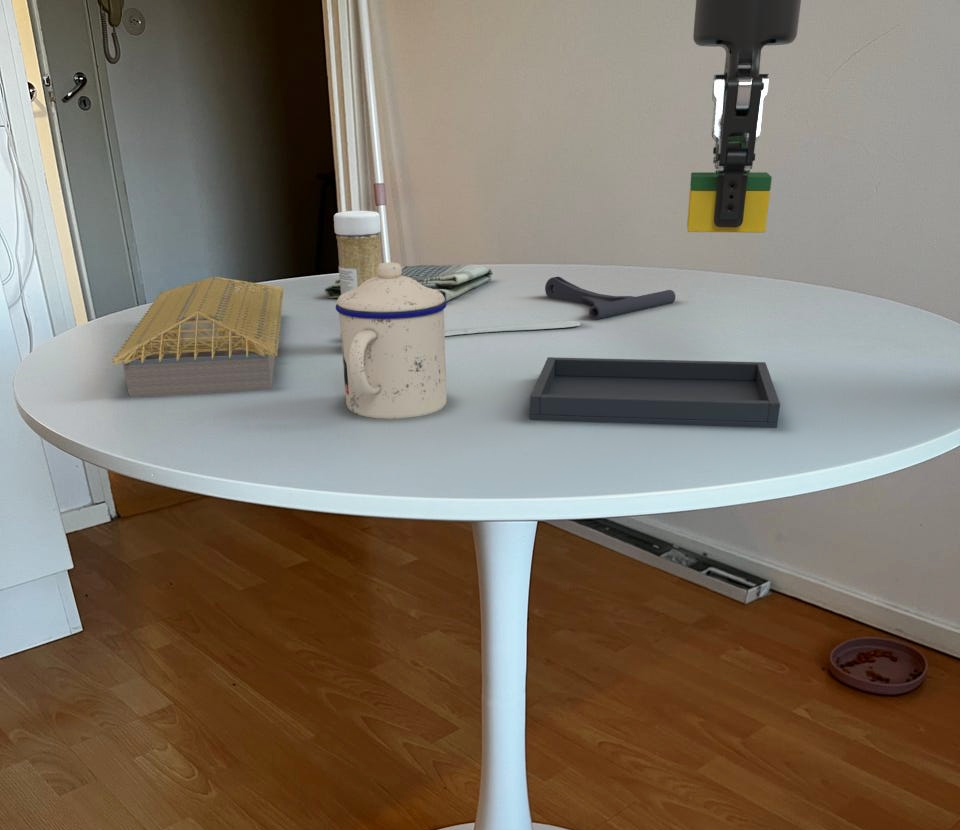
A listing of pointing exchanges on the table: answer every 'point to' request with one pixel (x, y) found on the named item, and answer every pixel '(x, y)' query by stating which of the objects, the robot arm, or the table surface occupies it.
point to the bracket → (605, 299)
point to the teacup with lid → (393, 346)
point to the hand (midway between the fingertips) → (726, 221)
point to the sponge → (705, 198)
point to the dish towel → (438, 278)
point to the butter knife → (516, 327)
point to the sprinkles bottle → (357, 247)
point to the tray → (655, 392)
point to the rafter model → (205, 340)
